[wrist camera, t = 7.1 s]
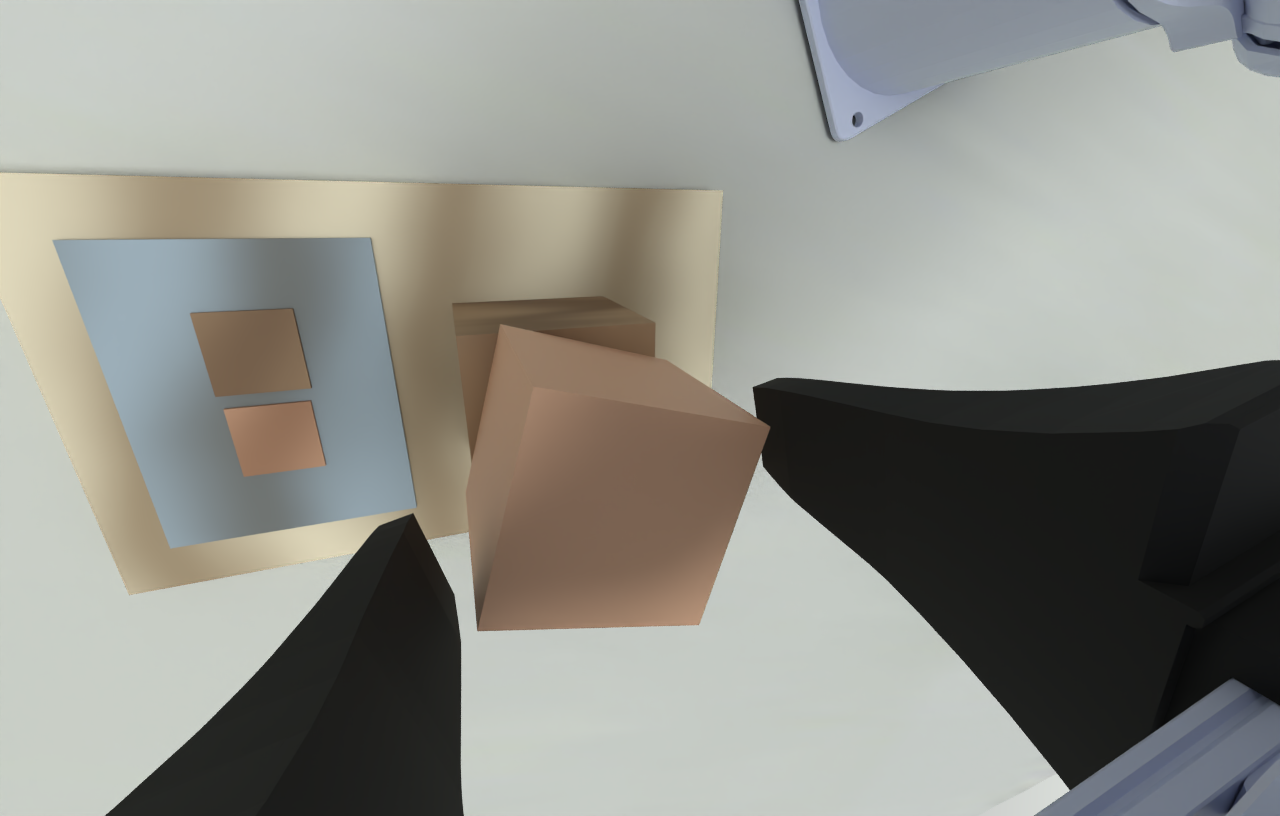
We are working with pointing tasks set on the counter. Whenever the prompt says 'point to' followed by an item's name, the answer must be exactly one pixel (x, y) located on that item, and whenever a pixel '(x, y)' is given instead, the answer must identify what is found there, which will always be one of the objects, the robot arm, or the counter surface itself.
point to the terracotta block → (601, 487)
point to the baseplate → (316, 342)
